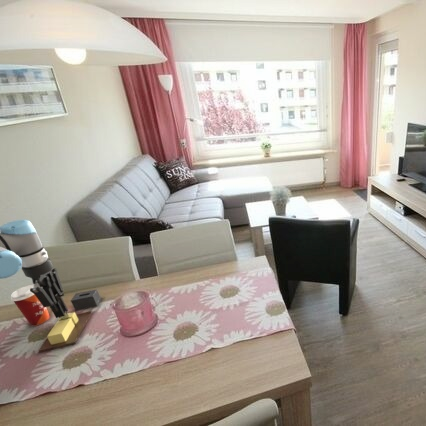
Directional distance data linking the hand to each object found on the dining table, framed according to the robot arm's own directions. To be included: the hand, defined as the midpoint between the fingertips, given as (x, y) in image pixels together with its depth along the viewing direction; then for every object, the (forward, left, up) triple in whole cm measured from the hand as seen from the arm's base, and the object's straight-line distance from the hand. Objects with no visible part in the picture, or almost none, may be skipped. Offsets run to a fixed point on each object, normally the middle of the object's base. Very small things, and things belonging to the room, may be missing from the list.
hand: (62, 314), depth 112 cm
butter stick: (0, -4, -6) cm, 8 cm away
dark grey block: (+2, +14, -7) cm, 16 cm away
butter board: (0, -1, -7) cm, 8 cm away
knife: (0, 0, -6) cm, 6 cm away
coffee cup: (-14, +10, -8) cm, 19 cm away
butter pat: (0, +2, -6) cm, 7 cm away
